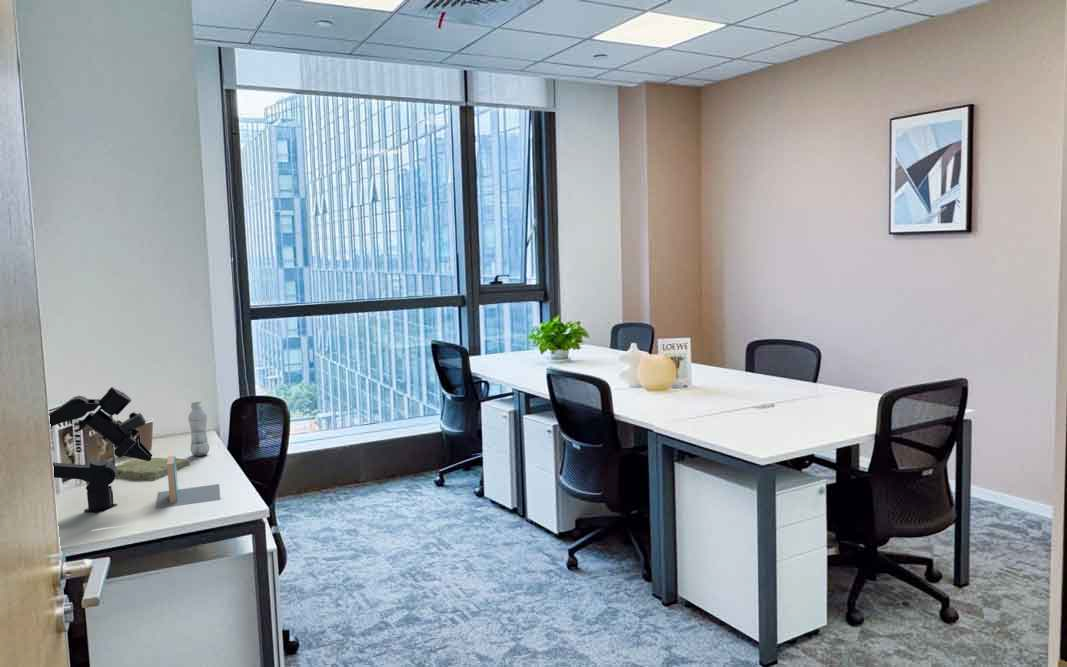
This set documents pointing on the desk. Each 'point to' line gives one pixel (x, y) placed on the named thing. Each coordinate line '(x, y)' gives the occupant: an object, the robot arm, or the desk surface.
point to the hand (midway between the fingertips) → (151, 458)
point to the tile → (172, 479)
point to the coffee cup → (146, 433)
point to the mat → (189, 496)
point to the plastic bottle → (198, 430)
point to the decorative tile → (147, 468)
